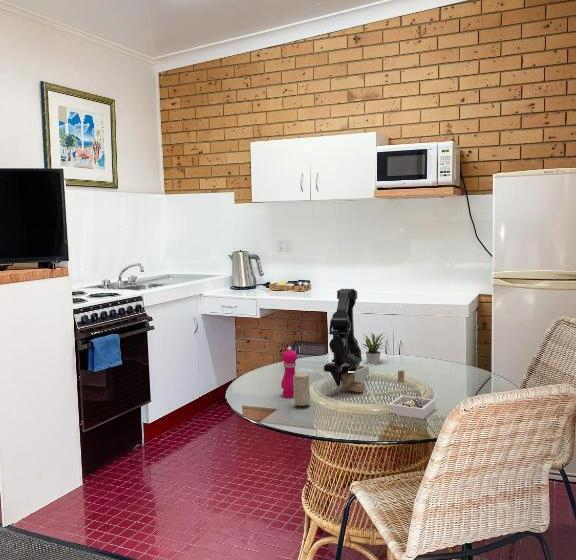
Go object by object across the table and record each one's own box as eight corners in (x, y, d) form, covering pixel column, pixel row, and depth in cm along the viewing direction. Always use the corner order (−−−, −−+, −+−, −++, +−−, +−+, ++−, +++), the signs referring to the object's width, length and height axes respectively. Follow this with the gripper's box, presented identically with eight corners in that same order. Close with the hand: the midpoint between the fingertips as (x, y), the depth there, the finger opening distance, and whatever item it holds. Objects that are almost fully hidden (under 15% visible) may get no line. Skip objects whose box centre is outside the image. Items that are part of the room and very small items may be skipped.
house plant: (394, 362, 300) (394, 329, 298) (386, 369, 287) (386, 334, 286) (365, 360, 306) (365, 328, 304) (357, 366, 293) (357, 333, 292)
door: (367, 378, 271) (366, 366, 270) (369, 378, 270) (369, 366, 269) (351, 385, 259) (351, 372, 258) (353, 386, 258) (353, 373, 258)
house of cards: (440, 409, 226) (440, 389, 226) (429, 415, 220) (429, 394, 219) (418, 405, 232) (418, 385, 232) (406, 411, 226) (406, 390, 225)
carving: (308, 401, 239) (307, 371, 238) (311, 407, 231) (311, 376, 230) (292, 402, 238) (291, 372, 237) (295, 408, 230) (294, 377, 229)
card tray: (388, 413, 222) (388, 404, 221) (401, 404, 233) (401, 395, 232) (423, 419, 215) (423, 409, 215) (435, 409, 226) (435, 399, 226)
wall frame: (356, 378, 272) (356, 366, 271) (358, 377, 273) (358, 365, 273) (402, 384, 260) (402, 371, 260) (404, 383, 262) (404, 370, 262)
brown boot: (341, 389, 249) (341, 374, 249) (347, 386, 253) (346, 372, 253) (359, 391, 245) (359, 377, 244) (364, 389, 249) (364, 374, 248)
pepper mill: (287, 399, 243) (286, 349, 241) (278, 395, 249) (276, 346, 247) (302, 396, 246) (301, 347, 244) (293, 392, 252) (292, 344, 251)
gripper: (348, 353, 238) (348, 392, 240) (368, 344, 254) (368, 381, 256) (322, 350, 244) (323, 389, 246) (343, 342, 260) (344, 378, 261)
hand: (341, 384), depth 252 cm, fingers closed on brown boot, 4 cm apart
